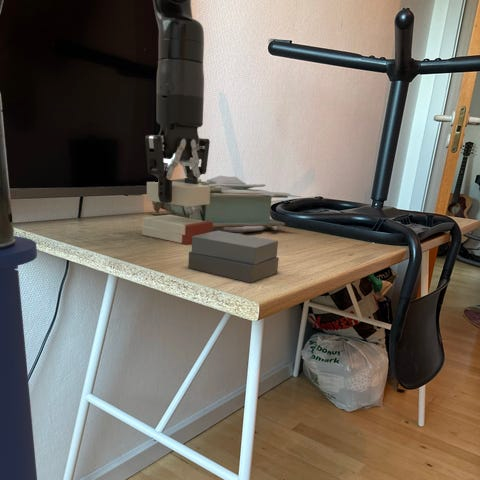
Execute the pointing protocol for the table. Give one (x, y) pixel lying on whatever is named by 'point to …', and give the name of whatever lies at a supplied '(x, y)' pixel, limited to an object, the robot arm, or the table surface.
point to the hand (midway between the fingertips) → (178, 200)
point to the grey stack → (234, 255)
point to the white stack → (175, 228)
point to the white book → (182, 193)
